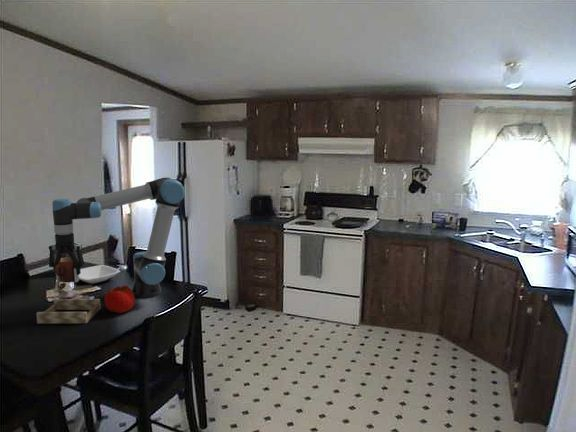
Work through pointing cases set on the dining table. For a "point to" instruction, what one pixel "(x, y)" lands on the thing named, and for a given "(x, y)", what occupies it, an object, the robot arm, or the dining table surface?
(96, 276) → the bowl
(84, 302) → the tan wooden shallow box
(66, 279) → the mug
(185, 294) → the dining table surface
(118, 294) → the tomato
